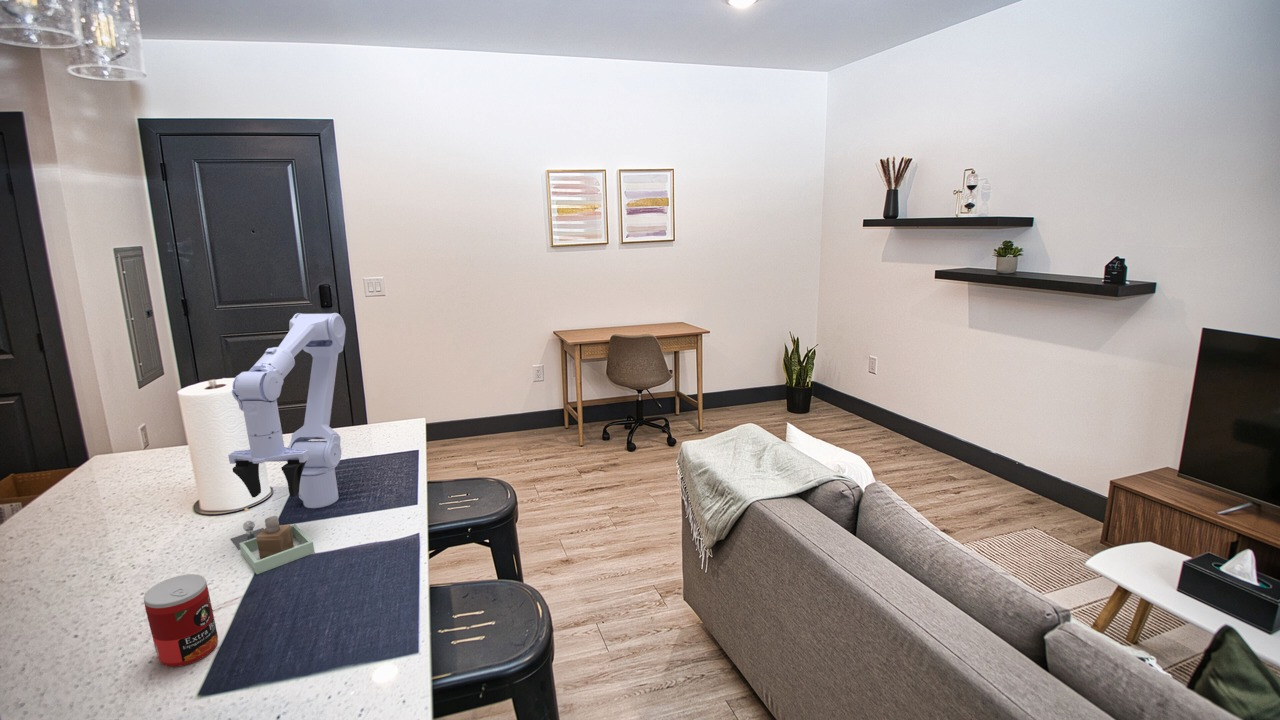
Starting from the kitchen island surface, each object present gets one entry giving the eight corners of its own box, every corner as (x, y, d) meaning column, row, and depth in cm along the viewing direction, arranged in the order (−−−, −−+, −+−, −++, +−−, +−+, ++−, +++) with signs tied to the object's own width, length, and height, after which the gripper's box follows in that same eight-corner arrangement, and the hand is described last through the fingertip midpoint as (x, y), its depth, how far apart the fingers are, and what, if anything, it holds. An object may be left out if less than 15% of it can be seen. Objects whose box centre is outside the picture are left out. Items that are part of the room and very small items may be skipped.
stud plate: (231, 544, 127) (226, 521, 126) (264, 532, 131) (260, 511, 130) (239, 555, 123) (234, 532, 122) (273, 543, 127) (269, 521, 126)
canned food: (191, 671, 93) (176, 606, 90) (144, 665, 94) (128, 601, 91) (231, 636, 100) (219, 575, 97) (187, 631, 101) (174, 571, 99)
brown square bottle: (273, 550, 123) (266, 513, 121) (294, 550, 123) (288, 513, 121) (260, 562, 119) (253, 524, 117) (283, 562, 119) (276, 524, 117)
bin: (242, 559, 122) (239, 543, 121) (297, 539, 129) (295, 523, 128) (257, 580, 115) (254, 563, 114) (315, 557, 122) (312, 541, 121)
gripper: (213, 439, 118) (226, 504, 121) (291, 438, 118) (302, 503, 122) (236, 426, 125) (248, 488, 128) (309, 424, 125) (319, 487, 129)
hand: (275, 494), depth 125 cm, fingers open, 7 cm apart
